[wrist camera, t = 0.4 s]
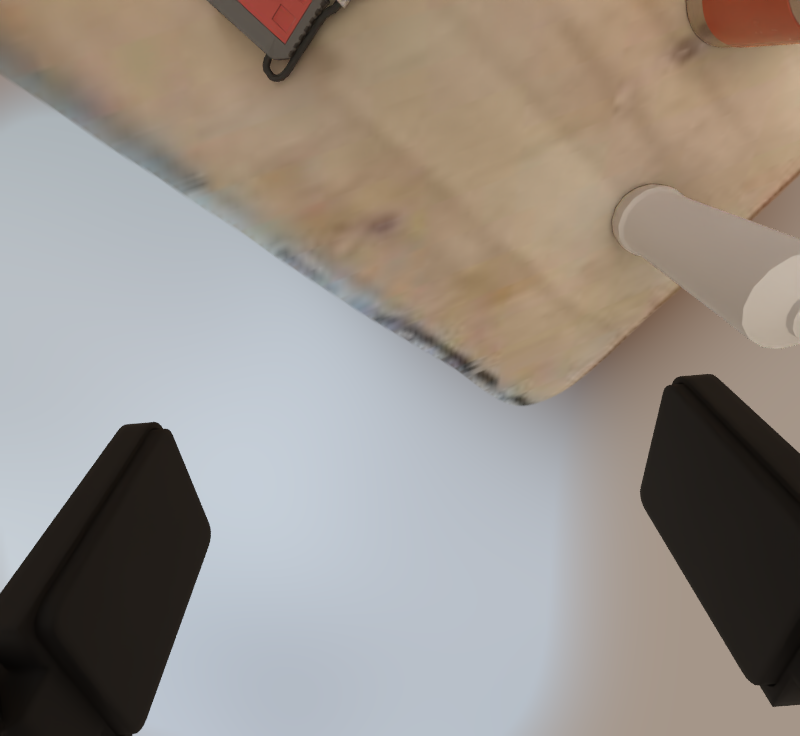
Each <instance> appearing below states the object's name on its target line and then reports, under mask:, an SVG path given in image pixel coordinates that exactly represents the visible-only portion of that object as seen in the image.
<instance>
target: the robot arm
mask: <svg viewBox="0 0 800 736" xmlns="http://www.w3.org/2000/svg"><path fill="white" fill-rule="evenodd" d="M640 495H641V501H642V503H643V506H644V508H645V510H646V512H647V514H648V515H649V517H650V519H651V520H652V522H653V523H654V525H655V527H656V529H657V530H658V532H659V533H660V535H661V537H662V539H663V540H664V542H665V544H666V545H667V547H668V549H669V550H670V552H671V554H672V555H673V557H674V559H675V560H676V562H677V564H678V565H679V567H680V569H681V570H682V572H683V574H684V575H685V577H686V579H687V580H688V582H689V584H690V585H691V587H692V589H693V590H694V592H695V594H696V595H697V597H698V599H699V600H700V602H701V604H702V605H703V607H704V609H705V611H706V612H707V614H708V615H709V617H710V619H711V621H712V622H713V624H714V626H715V627H716V629H717V631H718V632H719V634H720V636H721V637H722V639H723V640H724V642H725V644H726V646H727V647H728V649H729V650H730V652H731V654H732V656H733V657H734V659H735V660H736V662H737V664H738V666H739V667H740V669H741V671H742V672H743V674H744V675H745V677H746V678H747V679H748V680H749V681H750V682H751V683H753V684H754V685H760V687H761V689H762V690H763V692H764V693H765V695H766V697H767V698H768V700H769V702H770V703H771V705H772V706H773V707H776V706H789V705H800V453H798V452H797V451H796V450H795V449H794V448H793V447H792V446H791V445H790V444H789V443H788V442H786V441H785V440H784V439H783V438H782V437H781V436H780V435H779V434H778V433H777V432H776V431H775V430H774V429H773V428H771V427H770V426H769V425H768V424H767V423H766V422H765V421H764V420H763V419H761V417H759V416H758V415H757V414H756V413H755V412H754V411H753V410H752V409H751V408H750V407H749V406H747V405H746V404H745V403H744V402H743V401H742V400H741V399H740V398H739V397H738V396H737V395H736V394H735V393H733V392H732V391H731V390H730V389H729V388H728V387H727V386H726V385H725V384H724V383H723V382H721V381H720V380H719V379H718V378H717V377H716V376H714V375H711V374H703V375H692V376H680V377H677V378H676V379H675V380H674V381H673V383H672V385H669V386H667V387H666V388H665V389H664V392H663V395H662V400H661V404H660V408H659V413H658V417H657V421H656V425H655V429H654V433H653V438H652V442H651V446H650V451H649V455H648V459H647V463H646V468H645V472H644V476H643V480H642V484H641V489H640ZM210 538H211V531H210V526H209V522H208V520H207V517H206V515H205V513H204V510H203V508H202V505H201V503H200V500H199V498H198V495H197V493H196V491H195V488H194V486H193V484H192V481H191V479H190V476H189V474H188V471H187V469H186V466H185V464H184V461H183V459H182V457H181V454H180V452H179V449H178V447H177V444H176V442H175V440H174V437H173V435H172V433H171V431H170V430H168V429H163V428H162V426H161V425H160V424H159V423H156V422H150V423H139V424H127V425H124V426H122V427H121V428H120V429H119V430H118V432H117V433H116V434H115V436H114V437H113V438H112V440H111V441H110V443H109V444H108V445H107V447H106V448H105V449H104V451H103V452H102V454H101V455H100V456H99V458H98V459H97V460H96V462H95V463H94V465H93V466H92V467H91V469H90V470H89V471H88V473H87V474H86V476H85V477H84V479H83V480H82V481H81V483H80V484H79V485H78V487H77V488H76V489H75V491H74V492H73V494H72V495H71V496H70V498H69V499H68V501H67V502H66V503H65V505H64V506H63V508H62V509H61V510H60V512H59V513H58V514H57V516H56V517H55V519H54V520H53V521H52V523H51V524H50V525H49V527H48V528H47V530H46V531H45V532H44V534H43V535H42V536H41V538H40V539H39V541H38V542H37V543H36V545H35V546H34V548H33V549H32V550H31V552H30V553H29V555H28V556H27V557H26V559H25V560H24V561H23V563H22V564H21V566H20V567H19V568H18V570H17V571H16V572H15V574H14V575H13V577H12V578H11V579H10V581H9V582H8V584H7V585H6V586H5V588H4V589H3V590H2V592H1V593H0V736H132V734H135V733H137V732H139V731H140V730H141V728H142V727H143V725H144V723H145V721H146V719H147V716H148V713H149V711H150V707H151V705H152V702H153V699H154V696H155V694H156V691H157V688H158V686H159V683H160V680H161V677H162V674H163V672H164V669H165V666H166V663H167V660H168V658H169V655H170V652H171V649H172V647H173V644H174V641H175V638H176V635H177V633H178V630H179V627H180V624H181V622H182V619H183V616H184V613H185V610H186V607H187V605H188V602H189V599H190V597H191V594H192V591H193V588H194V585H195V583H196V580H197V577H198V574H199V571H200V569H201V565H202V563H203V560H204V558H205V555H206V552H207V549H208V546H209V543H210Z"/></svg>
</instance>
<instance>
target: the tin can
mask: <svg viewBox="0 0 800 736" xmlns="http://www.w3.org/2000/svg"><path fill="white" fill-rule="evenodd" d="M686 6H687V14H688V18H689V22H690V24H691V26H692V28H693V30H694V32H695V33H696V35H697V36H698V37H699V38H700V39H701V40H703V41H704V42H705V43H707V44H709V45H712V46H715V47H721V48H727V47H740V48H741V47H758V46H773V45H788V44H800V0H686Z"/></svg>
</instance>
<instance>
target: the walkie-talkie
mask: <svg viewBox="0 0 800 736" xmlns="http://www.w3.org/2000/svg"><path fill="white" fill-rule="evenodd" d="M207 1H208V2H209V3H210V4H212V5H213V6H214V7H215V8H216V9H217V10H218V11H219V12H220V13H222V14H223V15H224V16H225V17H226V18H227V19H228V20H229V21H230V22H231V23H233V24H234V25H235V26H236V27H237V28H238V29H239V30H240V31H241V32H243V33H244V34H245V35H246V36H247V37H248V38H249V39H250V40H251V41H252V42H254V43H255V44H256V45H257V46H258V47H259V48H260V49H261V50H262V51H264V52H265V53H266V55H265V57H264V61H263V70H264V72H265V74H266V75H267V77H268V78H269V79H270V80H272V81H274V82H280V81H282V80H284V79H285V78H286V77H288V76H289V75H290V73H291V71H292V70H293V68H294V67H295V65H296V64H297V62H298V61H299V59H300V57H301V56H302V54H303V53H304V51H305V50H306V48H307V47H308V45H309V43H310V42H311V40H312V39H313V37H314V36H315V34H316V33H317V31H318V30H319V28H320V27H321V25H322V24H323V22H324V21H325V20H326V18H327V17H329V16H330V15H332V14H334V13H336V12H337V11H338V10H339V9H340V8H341V6H342V7H343V8H344V9H345V7H346V6H347V4H348V3H349V1H350V0H336V1H335V2H334V4H333V5H332V6H330V7H327V8H325V7H326V5H329V3H330V1H329V0H207ZM324 8H325V9H324ZM272 59H274V60H286V59H290V61H289V63H288V64H287V66H286V67H285V69H284V70H283V71H282V72H281V73H280V74H278V75H275V74H273V72H272V71H271V69H270V64H271V61H272Z"/></svg>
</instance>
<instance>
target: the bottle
mask: <svg viewBox="0 0 800 736" xmlns="http://www.w3.org/2000/svg"><path fill="white" fill-rule="evenodd" d="M612 227H613V233H614V235H615V237H616V239H617V240H618V242H619V244H620V245H621V246H622V247H623V248H624V249H626V250H627V251H629V252H631V253H632V254H634V255H638V256H642V257H643V258H644V259H645V260H647V261H648V262H649V263H651V264H652V265H653V266H655V267H656V268H657V269H658V270H660V271H661V272H662V273H664V274H665V275H666V276H668V277H669V278H670V279H671V280H673V281H674V282H675V283H677V284H678V285H679V286H681V287H682V288H683V289H685V290H686V291H687V292H688V293H690V294H691V295H692V296H693V297H695V298H696V299H697V300H699V301H700V302H701V303H703V304H704V305H705V306H707V307H708V308H709V309H711V310H712V311H713V312H714V313H716V314H717V315H718V316H720V317H721V318H722V319H724V320H725V321H726V322H727V323H729V324H730V325H731V326H732V327H734V328H735V329H736V330H738V331H739V332H740V333H742V334H743V335H744V336H746V337H747V338H748V339H750V340H751V341H753V342H755V343H756V344H758V345H759V346H761V347H765V348H777V349H782V348H786V347H790V346H795V345H798V344H800V239H799V238H796V237H794V236H791V235H788V234H785V233H783V232H780V231H777V230H774V229H771V228H769V227H766V226H763V225H761V224H758V223H755V222H753V221H750V220H747V219H744V218H742V217H739V216H736V215H733V214H731V213H728V212H725V211H722V210H720V209H717V208H714V207H711V206H709V205H706V204H703V203H701V202H698V201H695V200H692V199H690V198H687V197H684V195H683V194H682V193H680V192H679V191H677V190H676V189H674V188H673V187H670V186H666V185H657V184H649V185H645V186H642V187H638V188H635V189H634V190H632V191H631V192H630V193H628V194H627V195H625V196H624V197H623V199H622V200H621V201H620V203H619V204H618V205H617V207H616V209H615V212H614V215H613V218H612Z"/></svg>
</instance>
